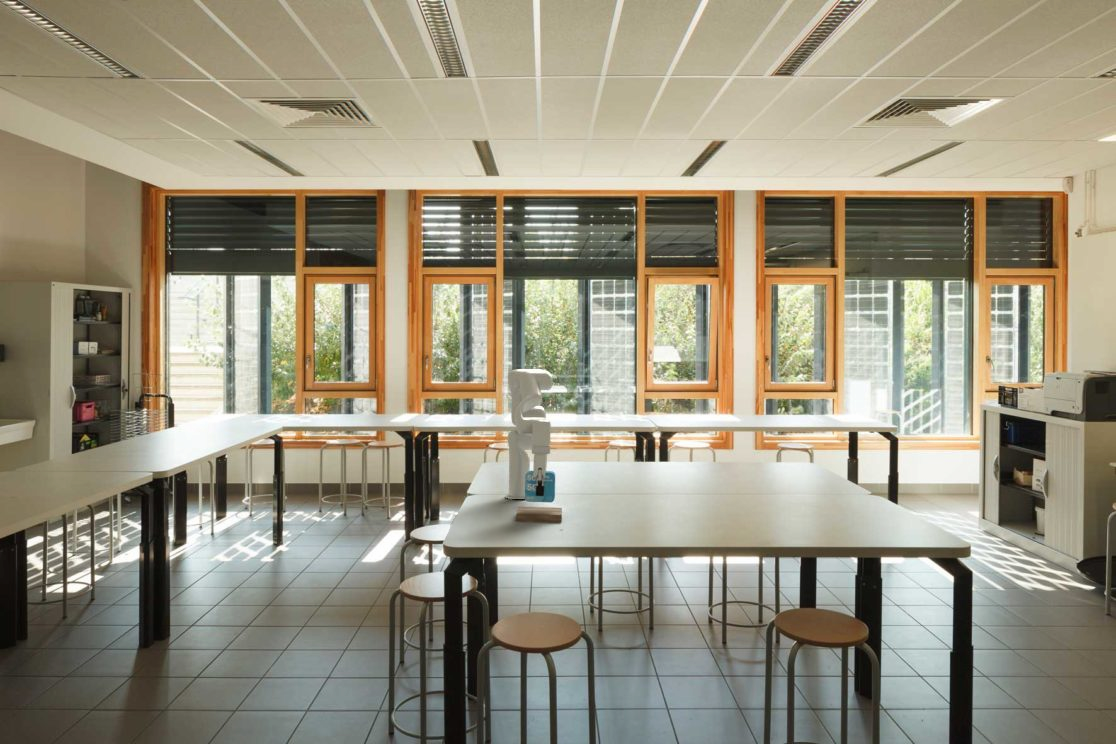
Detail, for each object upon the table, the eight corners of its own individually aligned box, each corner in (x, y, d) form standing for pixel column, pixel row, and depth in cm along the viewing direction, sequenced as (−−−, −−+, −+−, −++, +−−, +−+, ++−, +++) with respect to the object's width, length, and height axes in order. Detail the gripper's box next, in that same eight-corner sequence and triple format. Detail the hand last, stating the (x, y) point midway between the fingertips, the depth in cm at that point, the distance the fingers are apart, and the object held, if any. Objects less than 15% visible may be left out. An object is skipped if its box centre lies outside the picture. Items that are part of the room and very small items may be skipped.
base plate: (518, 514, 316) (518, 506, 316) (561, 515, 316) (561, 507, 316) (516, 521, 302) (516, 514, 302) (561, 522, 302) (561, 515, 302)
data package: (524, 501, 307) (525, 472, 306) (525, 499, 311) (526, 470, 311) (554, 502, 306) (554, 472, 306) (554, 500, 311) (555, 471, 310)
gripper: (532, 447, 317) (531, 490, 317) (530, 452, 300) (529, 498, 300) (550, 447, 317) (549, 491, 317) (549, 452, 300) (548, 498, 300)
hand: (540, 494), depth 309 cm, fingers closed on data package, 4 cm apart
